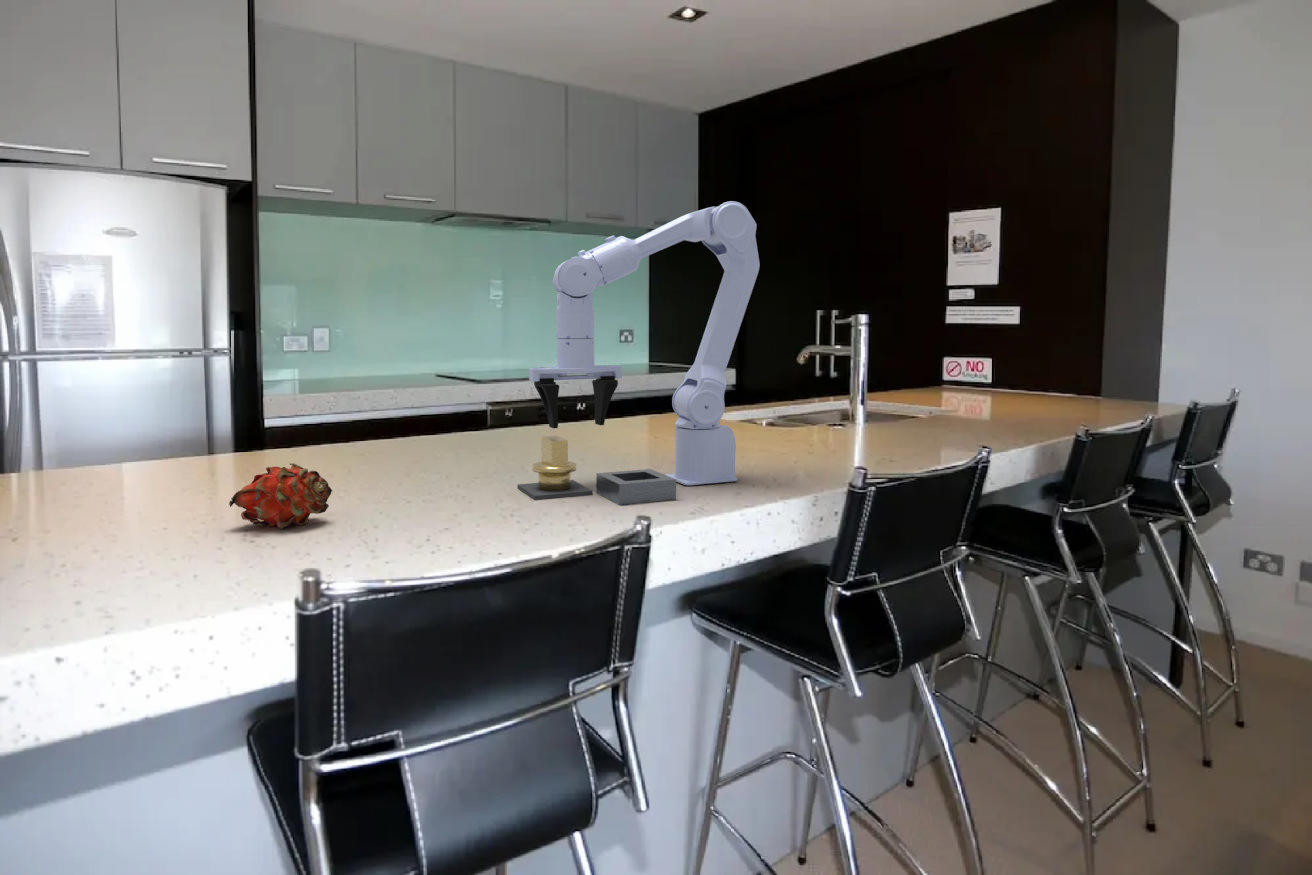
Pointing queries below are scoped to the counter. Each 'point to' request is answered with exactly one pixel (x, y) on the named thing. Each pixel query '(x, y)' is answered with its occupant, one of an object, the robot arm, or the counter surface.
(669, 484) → the housing
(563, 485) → the end cover
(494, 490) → the counter surface
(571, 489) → the mat
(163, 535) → the counter surface
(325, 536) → the counter surface
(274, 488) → the dragon fruit
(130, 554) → the counter surface
